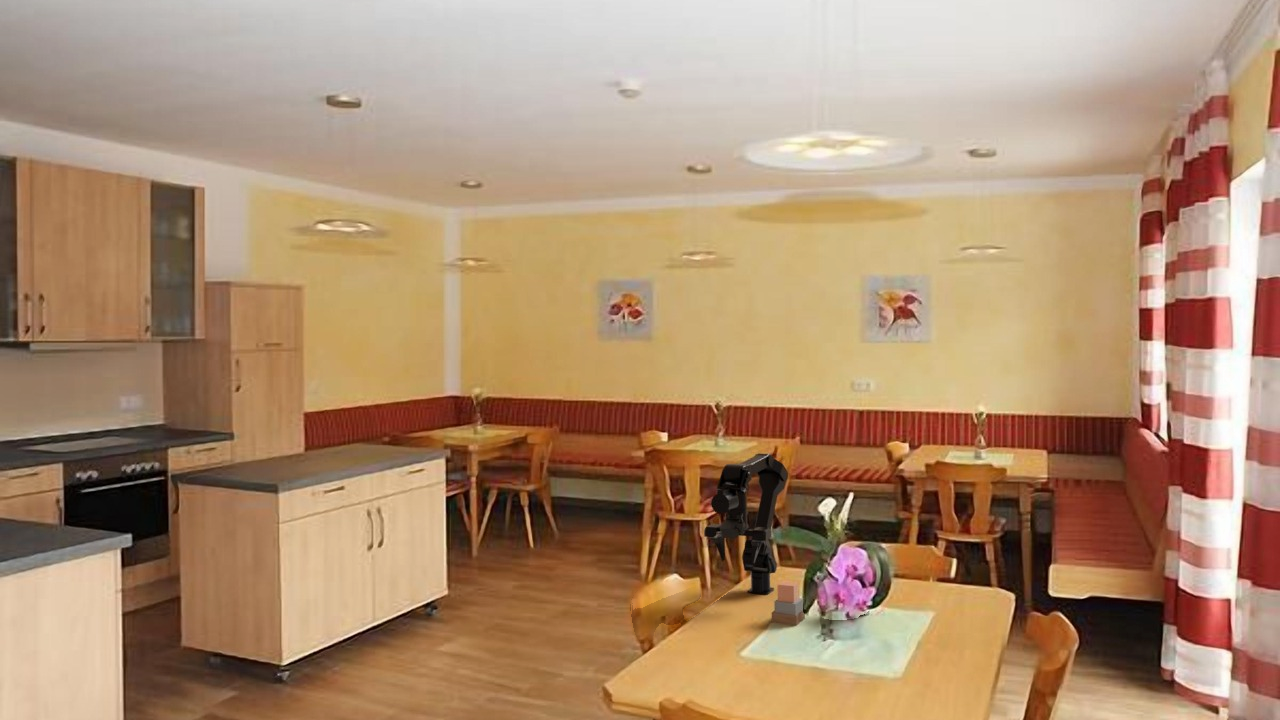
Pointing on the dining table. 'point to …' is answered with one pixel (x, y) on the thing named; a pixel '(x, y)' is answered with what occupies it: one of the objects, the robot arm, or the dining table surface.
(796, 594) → the terracotta cube
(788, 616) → the walnut block
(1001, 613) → the dining table surface
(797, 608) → the slate block
